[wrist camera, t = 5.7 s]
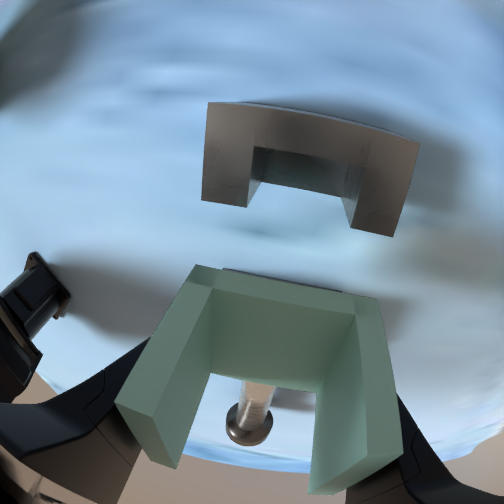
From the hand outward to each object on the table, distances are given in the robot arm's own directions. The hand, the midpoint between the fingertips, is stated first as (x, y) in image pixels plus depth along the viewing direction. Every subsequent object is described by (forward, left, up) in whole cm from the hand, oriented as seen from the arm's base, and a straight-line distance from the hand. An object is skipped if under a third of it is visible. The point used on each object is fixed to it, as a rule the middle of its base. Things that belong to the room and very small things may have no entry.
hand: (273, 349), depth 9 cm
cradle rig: (0, 0, -9) cm, 9 cm away
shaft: (-9, -8, -8) cm, 14 cm away
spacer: (0, 0, -1) cm, 1 cm away
